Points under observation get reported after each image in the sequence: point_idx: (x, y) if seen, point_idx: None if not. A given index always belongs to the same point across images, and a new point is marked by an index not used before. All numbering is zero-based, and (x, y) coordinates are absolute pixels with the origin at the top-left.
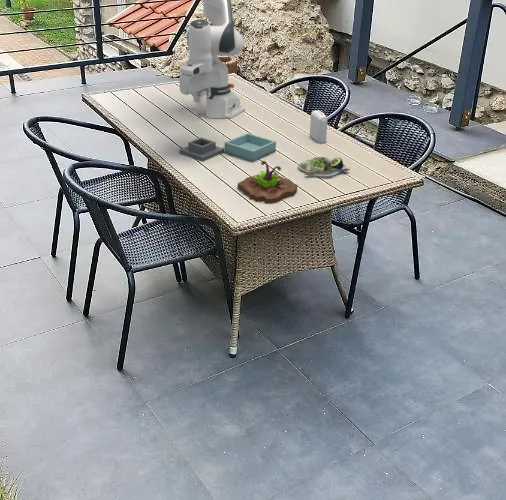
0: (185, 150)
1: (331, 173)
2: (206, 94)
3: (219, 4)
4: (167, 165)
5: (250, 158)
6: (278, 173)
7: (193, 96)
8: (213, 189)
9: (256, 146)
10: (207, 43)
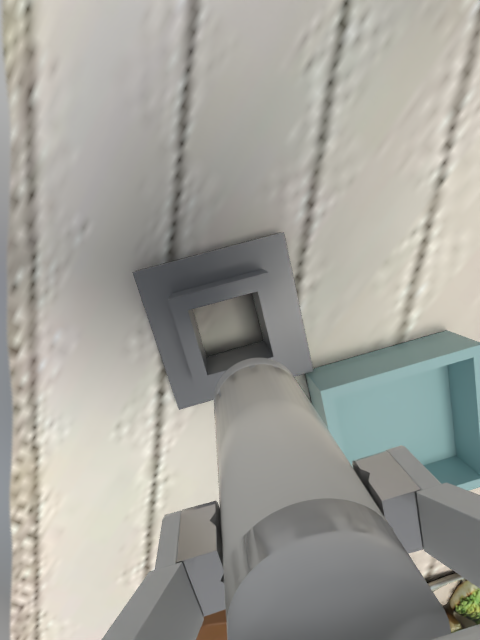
0: (154, 296)
1: None
2: (421, 529)
3: None
4: (21, 363)
5: None
6: None
7: (135, 615)
8: (83, 607)
9: (436, 402)
10: None
